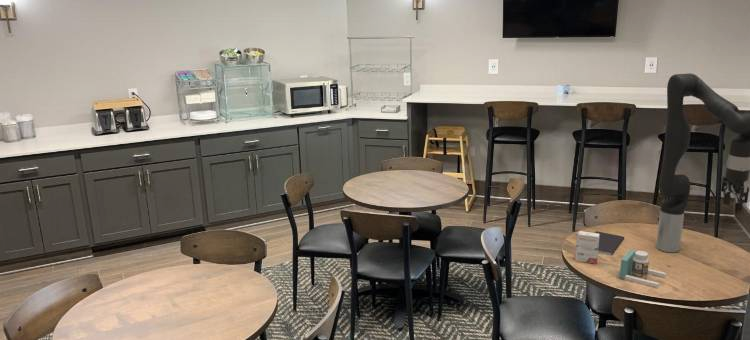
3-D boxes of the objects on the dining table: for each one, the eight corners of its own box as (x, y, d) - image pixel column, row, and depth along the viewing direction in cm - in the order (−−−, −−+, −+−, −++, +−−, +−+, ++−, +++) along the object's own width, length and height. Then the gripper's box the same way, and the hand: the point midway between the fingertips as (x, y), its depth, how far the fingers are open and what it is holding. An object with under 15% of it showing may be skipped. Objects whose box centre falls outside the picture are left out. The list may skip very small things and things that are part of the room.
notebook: (612, 256, 254) (624, 239, 270) (612, 253, 253) (624, 236, 270) (581, 250, 261) (595, 234, 277) (582, 246, 260) (595, 230, 277)
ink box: (597, 259, 250) (600, 233, 247) (596, 264, 246) (599, 237, 242) (576, 256, 254) (578, 230, 250) (574, 260, 249) (576, 234, 246)
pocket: (665, 276, 234) (668, 257, 232) (657, 288, 225) (660, 268, 223) (628, 267, 242) (630, 249, 240) (619, 278, 233) (621, 259, 231)
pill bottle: (645, 281, 231) (648, 257, 228) (630, 277, 234) (632, 254, 231) (648, 275, 235) (650, 252, 233) (632, 272, 238) (634, 249, 235)
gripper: (718, 161, 228) (712, 201, 233) (737, 172, 214) (731, 214, 219) (738, 161, 228) (732, 201, 232) (759, 172, 214) (752, 214, 219)
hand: (731, 208), depth 226 cm, fingers open, 8 cm apart
